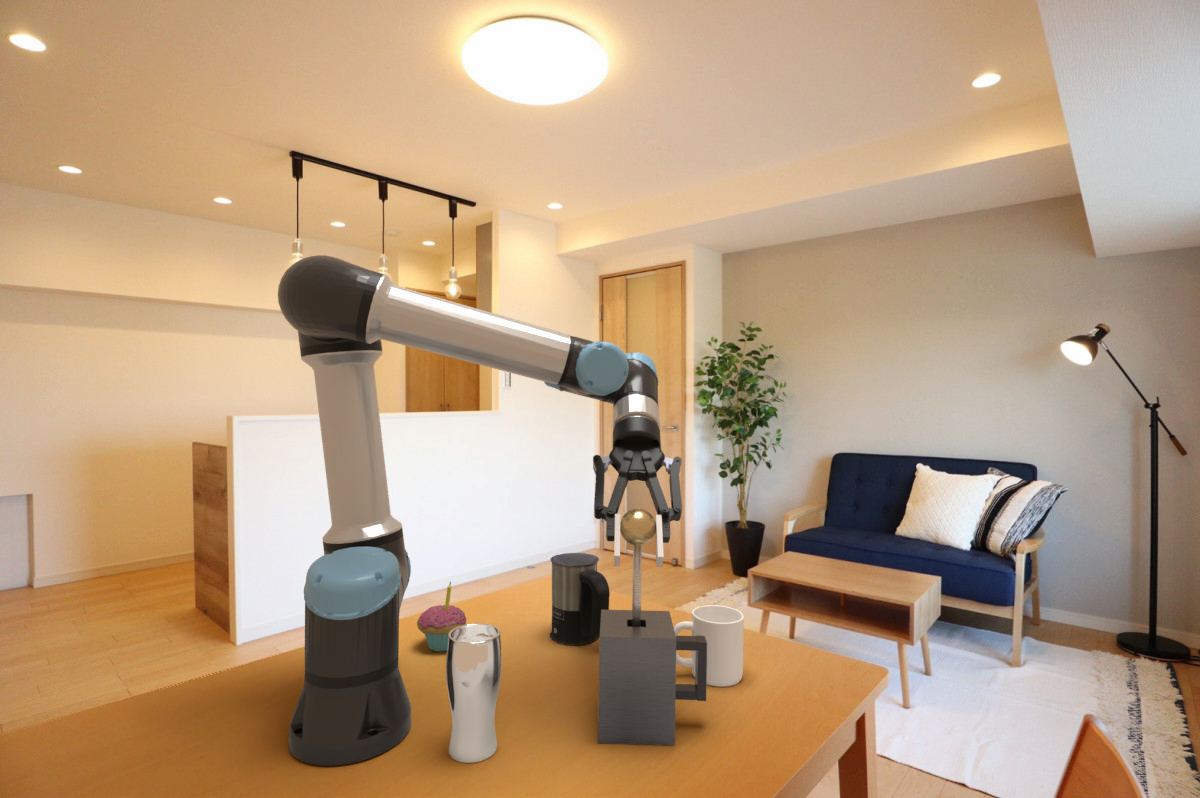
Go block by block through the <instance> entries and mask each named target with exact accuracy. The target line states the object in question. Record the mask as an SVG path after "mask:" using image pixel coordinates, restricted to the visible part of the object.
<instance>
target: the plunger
mask: <svg viewBox="0 0 1200 798" xmlns="http://www.w3.org/2000/svg"><path fill="white" fill-rule="evenodd" d="M655 521H656V519H655V518H654V517H653V515H652V514H651V513H650V512H649V511H647V510H645V509H642V508H633V509H630V510H628V511H627V512H625V513H624V514H623V516H622V517H621V518H620V536H622V538H623V540H624V541H626V542H627V544H630V545H632V546H633V547H632V548H633V549H632V604H631V605H632V608H631V610H632V627H641V610H642V569H643V568H642V567H643V566H642V564H643V563H642V559H643V555H642V554H643V546H644V545H646V544H647V543H649V542H650V541H651V540H652V539H653V538H654V537H655V531H656V524H655Z"/></svg>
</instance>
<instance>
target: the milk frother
mask: <svg viewBox="0 0 1200 798" xmlns="http://www.w3.org/2000/svg"><path fill="white" fill-rule="evenodd" d="M599 560H600V558H599V557H598V556H597V555H595V554H591V553H586V552H585V553H584V552H567V553H566V552H565V553H560V554H556V555H553V556H552V557H550V560H549V561H550V562H551V628H550V629H551V630H550V634H549V636H550V639H551V640H553V642H556V643H558V644H561V645H566V646H567V645H568V646H579V645H586V644H590V643H593V642H594V641H596V640H597V639H598V638H600V623H601V610H610V596H611V595H610V593H611V591H610V587H609V583H608V580H607V579H606V577H605V576H604V575H603V574H602V573H601V572H599V571H598V562H599Z"/></svg>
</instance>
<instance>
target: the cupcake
mask: <svg viewBox="0 0 1200 798" xmlns="http://www.w3.org/2000/svg"><path fill="white" fill-rule="evenodd" d="M451 592H452V582H451V581H450V582H449V585H447V589H446V596H445V604H443V605H441V604H439V605H434V606H431V607H428V608H427V610H425V611H423V612H422V613H421V614H420V615H419V617H418V619H417V621H416V625H417V626H416V627H417V628H418V630H419V631H420V632H421V633H422V634H424V637H425V639H426V642H427V645H428V646H427V647H428V648H429V649H430V650H431V651H434V652H447V646H448V634H449V632H450V631H451V630H452V629H454V628H456V627H458V626H461V625H465V624H467V617H466V615H465V614H466V613H465V612H464V611H463V610H462V609H461V608H460V607H457V606H456V605H452V604H451V605H450V598H451Z"/></svg>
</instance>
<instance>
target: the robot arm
mask: <svg viewBox="0 0 1200 798" xmlns="http://www.w3.org/2000/svg"><path fill="white" fill-rule="evenodd" d="M277 290H278V291H277V300H278V302H277V303H278V306H279V308H280V311H281V313H282V315H283V317H284V318H285V320H286V321H287V322H288V324H290V326H291V327H292V328H293V329H295V330H296V331H297V335H298V336H297V337H298V343H299V344H298V345H299V351H300V359H301V360H302V362H304V363H305V364H306V365H308V366H309V367H310V368H311V369H312V370H313V376H314V382H315V383H314V385H315V391H316V401H317V409H318V417H319V425H320V426H319V427H320V434H321V435H320V436H321V442H322V452H323V459H324V468H325V469H324V470H325V476H326V477H325V478H326V486H327V494H328V503H329V510H330V511H329V512H330V518H331V525H330V528H329V529H328V530H327V532H326V533H325V534H324V535H323V536H322V546H323V555H322V556H320V557H318V558H317V559H316V560H315V561H313V562H312V563H311V565H309V568H308V569H307V572H306V577H305V584H304V587H303V600H304V681H303V686H302V688H301V691H300V695H299V697H298V700H297V703H296V706H295V709H294V711H293V714H292V718H291V721H290V724H289V726H288V727H289V728H288V749H290V750H289V752H290V751H291V752H290V754H291V753H292V754H293V755H294V756H295V757H296V759H297V758H298V759H299V761H300V760H302V761H301V762H303V763H305V762H306V763H305V764H309V765H313V766H314V765H315V764H316V765H315V766H323V767H324V766H325V767H326V765H327V767H328V766H330V767H331V766H332V767H333V766H342V765H349V764H355V763H358V762H361V761H365V760H369V759H371V757H372V758H374V757H376V755H377V756H378V755H381V754H383V753H385V752H387V751H388V750H392V748H394V747H395V746H396V745H398V744H399V743H400V742H402V740H403V739H404V738H406V736H407V735H408V733H409V732H410V729H411V726H412V705H411V701H410V699H409V694H408V692H407V688H406V685H405V683H404V681H403V678H402V675H401V672H400V669H399V668H400V667H399V648H400V645H399V644H400V643H399V638H400V637H399V636H400V630H399V629H400V610H401V606H402V604H403V599H404V595H405V592H406V590H407V588H408V586H409V583H410V578H411V572H412V568H411V567H412V565H411V560H410V557H409V555H408V554H409V553H408V551H407V549H406V548H405V547H406V546H405V538H404V531H403V530H404V529H403V523H401V521H399V520H398V519H396V518H395V517H393V515H392V513H391V506H390V497H389V496H390V495H389V488H388V479H387V469H386V463H385V454H384V445H383V443H384V442H383V434H382V426H381V420H380V419H381V418H380V409H379V400H378V393H377V382H376V376H375V375H376V374H375V367H374V366H375V364H376V362H377V361H378V360H379V359H380V357H381V356H382V355H383V345H382V340H384V341H387V342H390V343H395V344H397V345H402V346H406V347H411V348H414V349H417V350H422V351H426V352H429V353H433V354H436V355H441V356H445V357H448V358H452V359H455V360H460V361H465V362H468V363H471V364H475V365H480V366H484V367H486V368H490V369H494V370H498V371H502V372H506V373H510V374H514V375H518V376H521V377H525V378H530V379H534V380H537V381H540V382H544V384H545V385H546V386H547V387H550V388H554V389H556V390H558V391H560V392H566V393H570V394H573V395H577V396H581V397H584V398H589V399H594V400H597V401H601V402H604V403H608V404H611V405H613V407H612V409H613V410H612V411H613V413H612V429H613V431H612V450H611V451H610V453H609V455H606V456H602V457H601V455H599V454H595V455H593V456H592V468H593V469H592V470H593V471H594V475H595V484H594V485H595V487H594V502H593V503H594V504H593V510H594V514H593V515H594V518H595V519H596V520H601V519H602V520H604V521H605V523H606V525H605V526H606V527H605V532H606V533H605V538H606V542H614V543H613V544H614V547H613V548H614V550H613V551H614V554H613V567H620V566H621V532H620V522H621V513H619V510H620V506H621V504H622V499H623V497H624V494H625V491H626V488H627V486H628V483H629V481H631V482H632V481H640V482H644V483H645V485H646V487H647V489H648V491H649V495H650V496H651V500H652V503H653V506H654V509H655V512H656V514H655V524H656V531H655V534H654V537H655V560H656V562H655V563H656V568H663V563H664V557H665V556H664V543H666V544H669V542H670V540H671V522H672V521H673V522H674V521H675V522H679V521H680V520H681V517H682V511H683V503H682V491H681V481H680V472H681V467H682V462H683V461H682V460H683V459H682V457H680V456H675V457H673V458H670V457H667V456H666V455H665V453H664V452H663V450H662V445H661V444H662V441H661V429H660V428H661V427H660V426H661V424H660V423H661V422H660V421H661V420H660V419H661V418H660V410H659V388H658V387H659V377H658V373H657V372H658V371H657V368H656V364H655V362H654V360H653V359H652V358H651V357H650V356H649V355H648V354H645V353H644V352H638V351H636V352H627V353H625V352H624V351H623V350H622V349H621V348H620V347H619V346H618V345H616V344H615V343H613V342H609V341H603V340H599V341H598V340H596V341H593V340H589V339H586V338H581V337H578V336H574V335H570V334H568V333H564V332H561V331H557V330H555V329H554V330H553V329H551V328H547V327H543V326H539V325H536V324H533V323H529V322H525V321H521V320H519V319H515V318H511V317H509V316H504V315H501V314H497V313H495V312H491V311H488V310H487V311H486V310H483V309H479V308H476V307H472V306H469V305H465V304H463V303H458V302H455V301H451V300H448V299H444V298H441V297H438V296H433V295H431V294H427V293H423V292H419V291H417V290H413V289H409V288H406V287H403V286H399V285H395V284H394V283H393V281H392V279H391V278H390V277H389V275H387V274H385V273H381V272H377V271H374V270H371V269H368V268H365V267H362V266H359V265H357V264H353V263H350V262H348V261H347V260H344V259H341V258H338V257H334V256H331V255H324V254H323V255H321V254H320V255H317V254H316V255H311V256H308V257H304V258H301V259H299V260H297V261H296V262H294V263H293V264H291V266H289V267H288V268H287V269H286V270H285V272H284V273H283V275H282V276H281V279H280V281H279V284H278V287H277ZM610 465H611V467H612V468H613V469H614V470H615V471H616V472H617V473H618V476H617V477H616V481H615V485H614V487H613V489H612V493H611V496H610V499H609V502H608V505H607V506H605V505H604V495H605V494H604V493H605V473H607V471H609V466H610ZM662 467H665V472H667V474H668V475H669V477H668V478H669V481H668V482H669V483H668V484H669V491H670V492H669V495H670V506H671V507H669V506H668V503H667V501H666V498H665V495H664V493H663V489H662V487H661V484H660V482H659V477H658V476H657V475H658V474H657V472H659V471H660V469H661V468H662ZM292 754H291V755H292ZM293 755H292V756H293ZM294 756H293V757H294ZM295 757H294V758H295ZM298 759H297V760H298Z"/></svg>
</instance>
